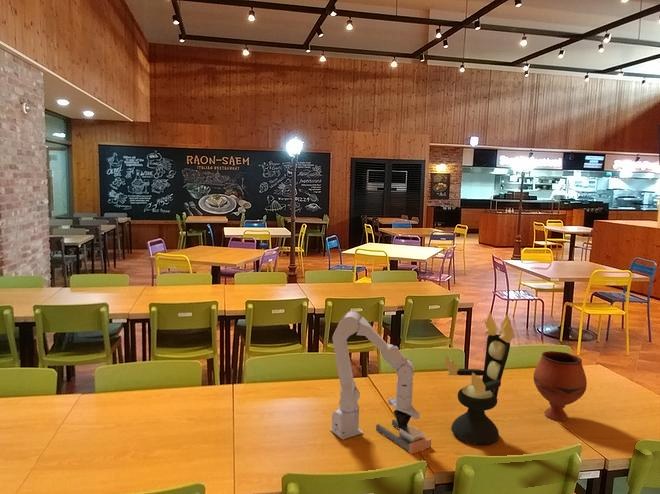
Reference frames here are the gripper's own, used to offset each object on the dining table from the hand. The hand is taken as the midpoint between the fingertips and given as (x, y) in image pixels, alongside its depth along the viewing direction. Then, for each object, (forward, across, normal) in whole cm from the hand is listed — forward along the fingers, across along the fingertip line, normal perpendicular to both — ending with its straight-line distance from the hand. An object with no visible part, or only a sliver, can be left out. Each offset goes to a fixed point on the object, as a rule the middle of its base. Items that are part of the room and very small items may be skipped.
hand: (402, 430), depth 183 cm
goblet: (+3, -18, -66) cm, 68 cm away
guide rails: (+3, 0, 0) cm, 3 cm away
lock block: (+3, -5, 0) cm, 6 cm away
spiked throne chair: (+3, -12, -27) cm, 30 cm away
